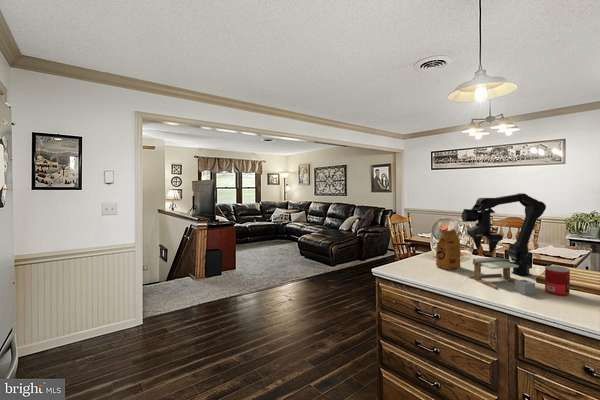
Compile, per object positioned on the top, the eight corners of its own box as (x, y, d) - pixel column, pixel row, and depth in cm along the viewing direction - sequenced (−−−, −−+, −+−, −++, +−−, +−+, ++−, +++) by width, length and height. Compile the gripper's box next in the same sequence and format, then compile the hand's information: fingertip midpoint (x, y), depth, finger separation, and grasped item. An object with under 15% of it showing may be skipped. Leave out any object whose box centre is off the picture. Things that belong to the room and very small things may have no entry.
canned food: (571, 297, 120) (572, 271, 120) (546, 294, 124) (546, 269, 124) (567, 291, 127) (567, 266, 126) (543, 288, 131) (543, 264, 130)
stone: (524, 290, 129) (524, 279, 129) (535, 294, 124) (535, 283, 124) (514, 291, 129) (514, 280, 129) (524, 295, 124) (524, 284, 124)
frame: (468, 277, 149) (468, 259, 148) (501, 275, 151) (501, 257, 150) (494, 289, 132) (494, 268, 132) (530, 286, 134) (530, 265, 134)
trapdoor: (472, 264, 148) (472, 258, 148) (497, 262, 150) (497, 257, 150) (491, 271, 136) (491, 265, 136) (518, 269, 137) (518, 263, 137)
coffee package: (433, 266, 171) (432, 229, 171) (449, 263, 176) (448, 227, 175) (447, 270, 162) (446, 231, 161) (463, 267, 166) (463, 229, 166)
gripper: (458, 220, 161) (458, 248, 162) (483, 224, 143) (483, 255, 144) (476, 219, 163) (476, 247, 163) (503, 223, 144) (503, 254, 145)
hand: (484, 250), depth 154 cm, fingers open, 9 cm apart
